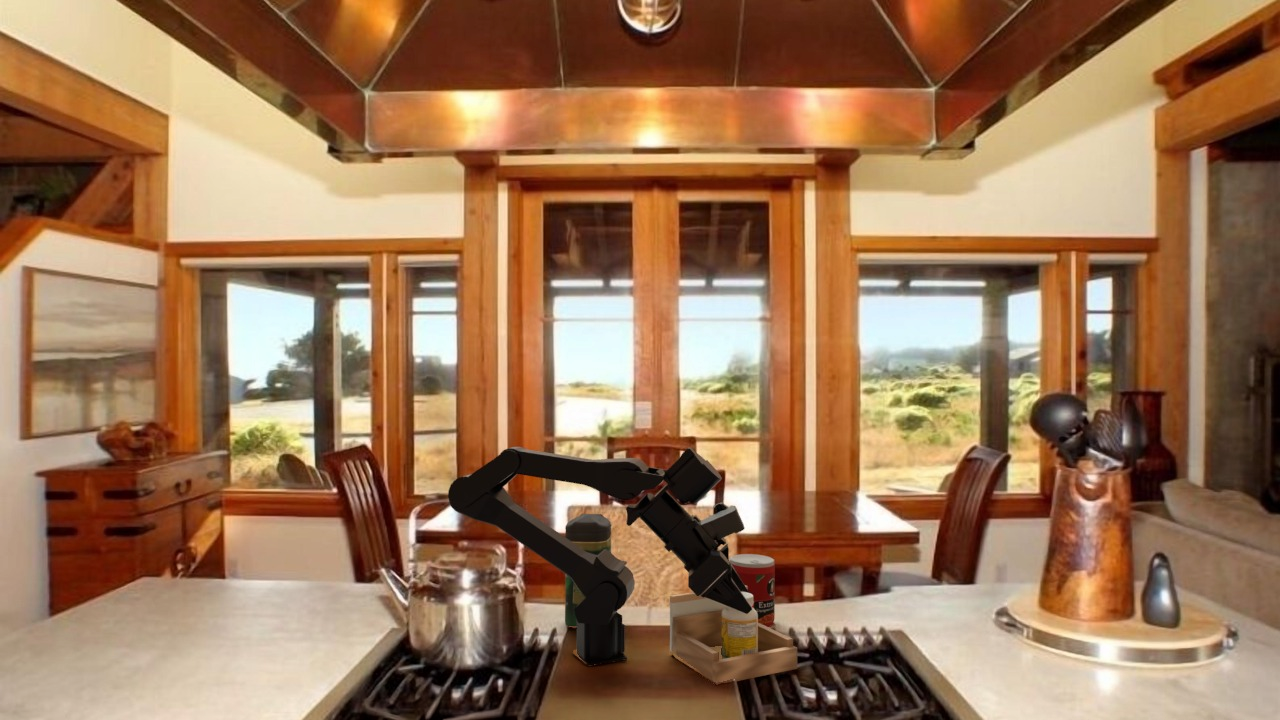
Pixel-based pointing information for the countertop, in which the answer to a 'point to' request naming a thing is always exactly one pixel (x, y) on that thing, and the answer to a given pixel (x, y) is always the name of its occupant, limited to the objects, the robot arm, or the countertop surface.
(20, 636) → the countertop surface
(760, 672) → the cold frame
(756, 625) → the supplement bottle
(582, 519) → the coffee jar
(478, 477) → the robot arm
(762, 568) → the canned food
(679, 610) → the lid panel
